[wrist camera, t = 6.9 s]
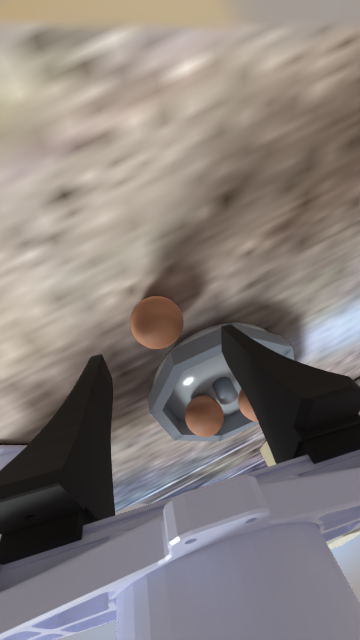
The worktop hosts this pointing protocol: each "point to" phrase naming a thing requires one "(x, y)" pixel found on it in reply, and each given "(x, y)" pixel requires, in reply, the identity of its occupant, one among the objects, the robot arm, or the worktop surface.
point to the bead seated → (246, 406)
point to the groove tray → (204, 381)
